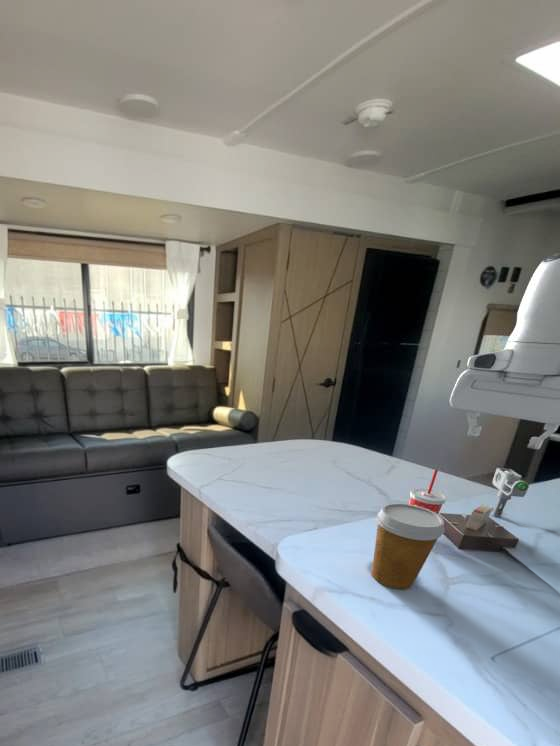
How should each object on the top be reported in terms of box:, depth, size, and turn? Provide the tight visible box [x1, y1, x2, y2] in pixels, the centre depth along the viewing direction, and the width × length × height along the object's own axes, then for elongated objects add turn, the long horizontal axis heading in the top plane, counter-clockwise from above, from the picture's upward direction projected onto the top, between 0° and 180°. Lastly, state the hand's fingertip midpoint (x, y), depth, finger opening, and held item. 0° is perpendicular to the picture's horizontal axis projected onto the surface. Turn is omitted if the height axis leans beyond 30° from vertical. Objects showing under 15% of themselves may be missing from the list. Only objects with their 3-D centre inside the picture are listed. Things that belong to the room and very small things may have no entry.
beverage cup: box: [408, 469, 448, 514], centre depth 80 cm, size 6×6×14 cm
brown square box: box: [438, 512, 520, 553], centre depth 81 cm, size 10×10×3 cm
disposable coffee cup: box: [371, 502, 445, 590], centre depth 65 cm, size 10×10×12 cm
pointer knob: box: [466, 503, 494, 531], centre depth 80 cm, size 6×2×4 cm, turn 129°
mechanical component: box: [491, 467, 530, 518], centre depth 90 cm, size 3×10×10 cm, turn 166°
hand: (501, 441), depth 74 cm, fingers open, 8 cm apart
